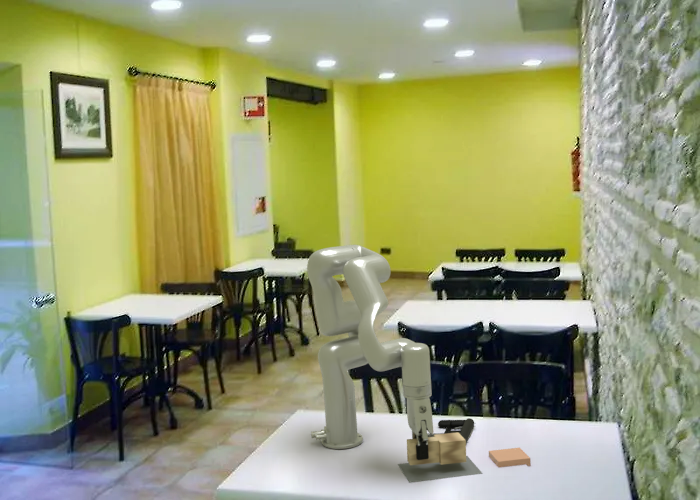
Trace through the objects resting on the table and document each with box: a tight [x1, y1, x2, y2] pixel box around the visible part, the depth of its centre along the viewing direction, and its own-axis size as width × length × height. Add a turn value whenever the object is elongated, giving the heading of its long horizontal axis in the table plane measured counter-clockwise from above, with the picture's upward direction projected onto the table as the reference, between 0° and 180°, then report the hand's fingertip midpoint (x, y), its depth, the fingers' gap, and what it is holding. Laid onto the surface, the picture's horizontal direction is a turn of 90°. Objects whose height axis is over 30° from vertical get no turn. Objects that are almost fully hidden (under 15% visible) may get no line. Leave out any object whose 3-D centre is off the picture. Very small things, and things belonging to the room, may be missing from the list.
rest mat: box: [397, 455, 483, 484], centre depth 201 cm, size 20×13×1 cm, turn 99°
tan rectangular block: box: [488, 447, 531, 468], centre depth 204 cm, size 3×8×9 cm
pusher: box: [406, 432, 467, 465], centre depth 200 cm, size 15×6×6 cm, turn 99°
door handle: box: [427, 417, 475, 444], centre depth 227 cm, size 3×20×16 cm
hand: (420, 455), depth 199 cm, fingers closed on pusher, 3 cm apart
